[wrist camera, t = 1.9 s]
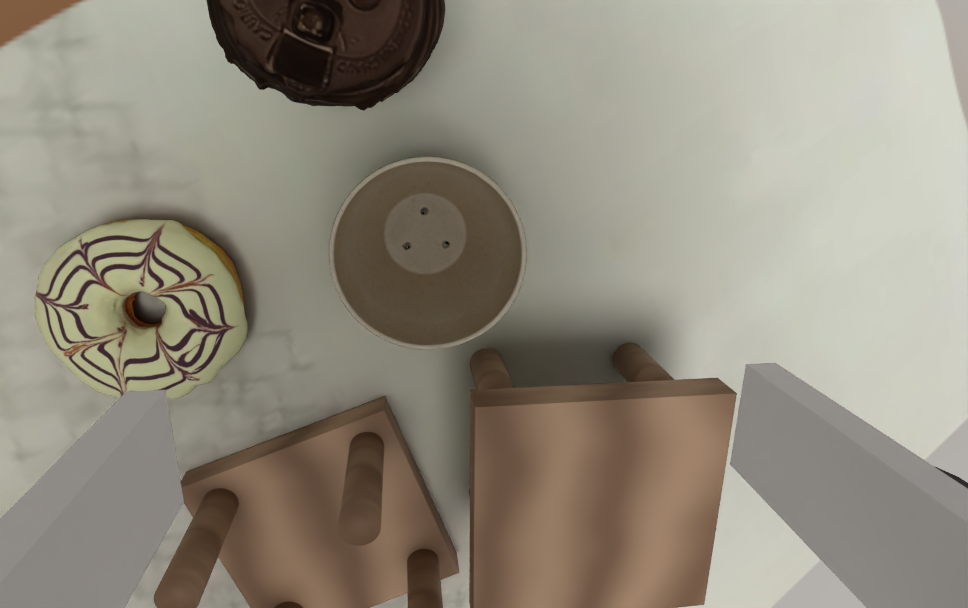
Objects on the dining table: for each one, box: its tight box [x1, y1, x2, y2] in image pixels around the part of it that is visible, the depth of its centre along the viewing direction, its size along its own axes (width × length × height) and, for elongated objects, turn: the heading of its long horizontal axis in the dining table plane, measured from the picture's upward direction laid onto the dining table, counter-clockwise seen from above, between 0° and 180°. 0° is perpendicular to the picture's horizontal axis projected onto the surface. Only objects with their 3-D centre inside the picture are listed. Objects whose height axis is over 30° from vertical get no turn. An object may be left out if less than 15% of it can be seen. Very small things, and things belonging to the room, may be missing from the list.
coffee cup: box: [207, 0, 445, 110], centre depth 27 cm, size 9×8×13 cm
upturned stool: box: [154, 397, 459, 608], centre depth 37 cm, size 14×14×10 cm
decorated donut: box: [35, 219, 248, 399], centre depth 34 cm, size 10×11×4 cm
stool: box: [469, 343, 737, 608], centre depth 37 cm, size 14×14×10 cm
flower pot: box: [329, 157, 527, 350], centre depth 33 cm, size 10×10×7 cm
